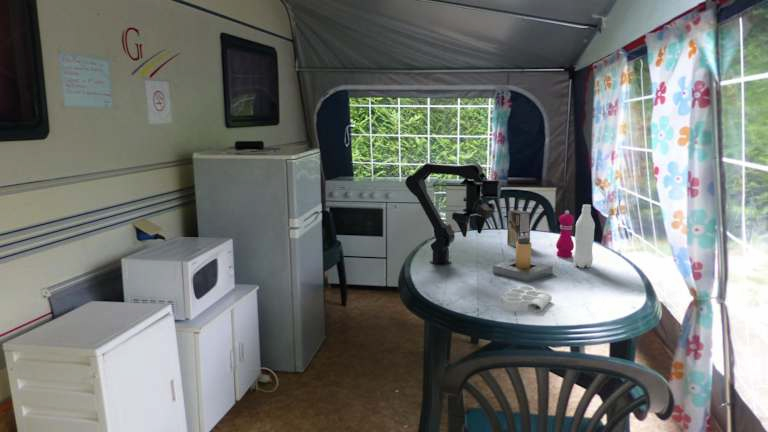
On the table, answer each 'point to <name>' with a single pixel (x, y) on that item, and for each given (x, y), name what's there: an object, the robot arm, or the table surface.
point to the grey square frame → (522, 270)
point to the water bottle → (584, 238)
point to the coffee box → (517, 225)
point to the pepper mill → (565, 236)
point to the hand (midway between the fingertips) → (472, 235)
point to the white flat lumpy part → (525, 299)
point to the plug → (523, 252)
